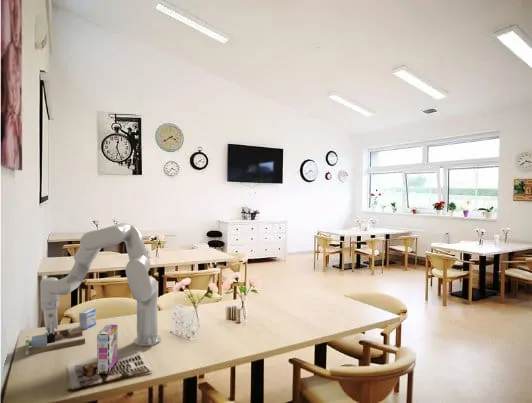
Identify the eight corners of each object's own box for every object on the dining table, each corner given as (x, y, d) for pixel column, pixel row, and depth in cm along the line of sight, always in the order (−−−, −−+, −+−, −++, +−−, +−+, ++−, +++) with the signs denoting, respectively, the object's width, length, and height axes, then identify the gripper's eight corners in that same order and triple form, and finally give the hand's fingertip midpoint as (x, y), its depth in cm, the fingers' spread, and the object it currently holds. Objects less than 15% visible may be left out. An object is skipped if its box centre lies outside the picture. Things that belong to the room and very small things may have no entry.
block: (47, 348, 176) (46, 338, 176) (32, 351, 173) (31, 340, 173) (47, 344, 181) (46, 333, 181) (32, 346, 178) (32, 336, 178)
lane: (85, 343, 182) (84, 335, 182) (25, 355, 169) (25, 346, 169) (80, 331, 197) (80, 323, 197) (26, 341, 184) (25, 333, 184)
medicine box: (86, 329, 199) (86, 313, 199) (79, 329, 200) (78, 312, 200) (96, 324, 207) (96, 308, 207) (89, 323, 208) (88, 308, 208)
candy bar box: (109, 374, 151) (109, 334, 151) (97, 375, 151) (96, 334, 150) (118, 361, 162) (117, 324, 162) (106, 362, 162) (105, 324, 161)
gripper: (60, 307, 175) (61, 346, 175) (58, 299, 187) (58, 335, 188) (41, 310, 171) (42, 350, 171) (40, 301, 183) (41, 338, 184)
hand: (51, 342), depth 180 cm, fingers closed
